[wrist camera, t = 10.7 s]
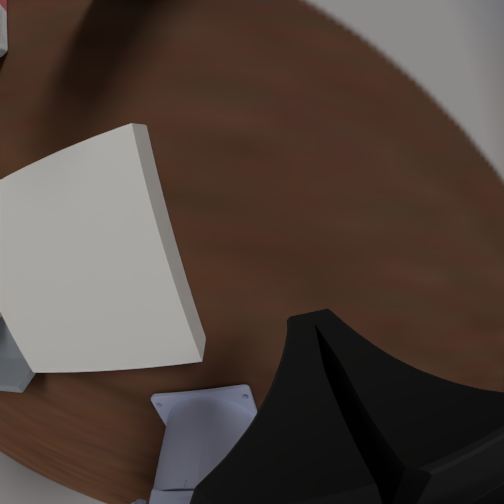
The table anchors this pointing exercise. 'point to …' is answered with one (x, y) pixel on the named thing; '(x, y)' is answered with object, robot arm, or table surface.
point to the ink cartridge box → (3, 27)
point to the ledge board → (94, 261)
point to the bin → (12, 363)
